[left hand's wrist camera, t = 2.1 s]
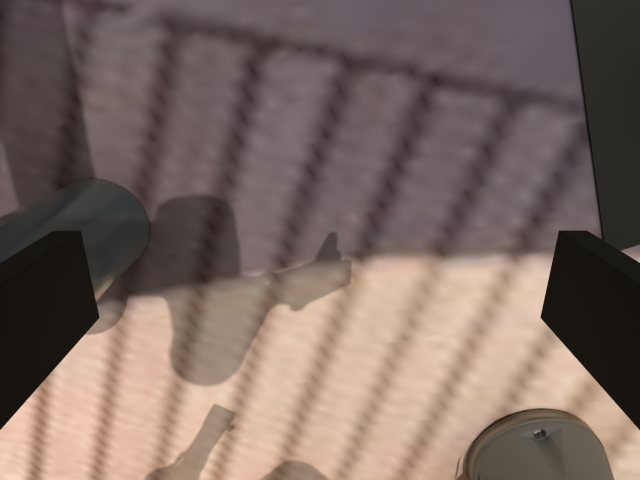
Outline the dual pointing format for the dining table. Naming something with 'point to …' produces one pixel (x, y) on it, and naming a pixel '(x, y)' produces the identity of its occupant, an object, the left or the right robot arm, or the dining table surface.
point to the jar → (84, 227)
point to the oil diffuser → (613, 110)
